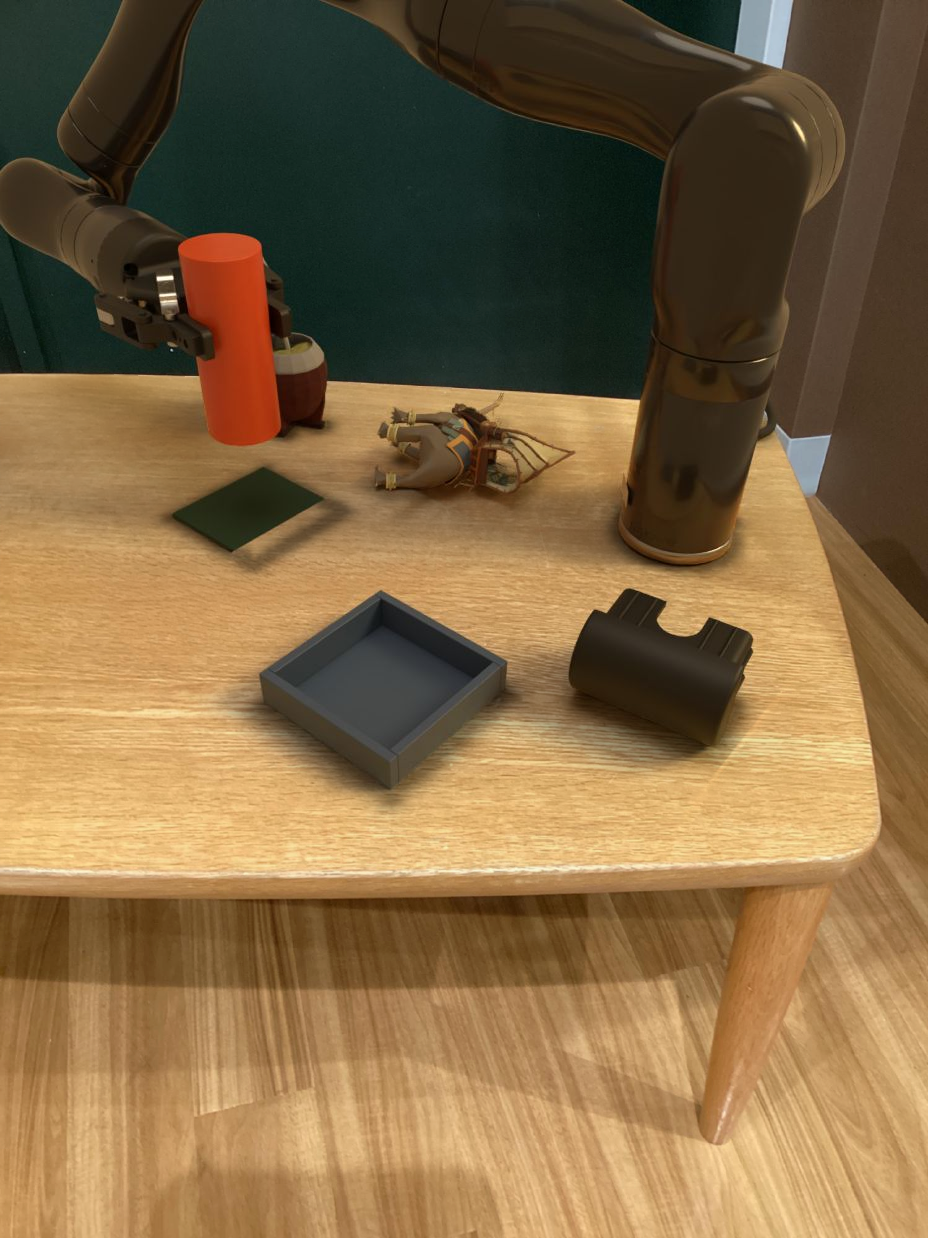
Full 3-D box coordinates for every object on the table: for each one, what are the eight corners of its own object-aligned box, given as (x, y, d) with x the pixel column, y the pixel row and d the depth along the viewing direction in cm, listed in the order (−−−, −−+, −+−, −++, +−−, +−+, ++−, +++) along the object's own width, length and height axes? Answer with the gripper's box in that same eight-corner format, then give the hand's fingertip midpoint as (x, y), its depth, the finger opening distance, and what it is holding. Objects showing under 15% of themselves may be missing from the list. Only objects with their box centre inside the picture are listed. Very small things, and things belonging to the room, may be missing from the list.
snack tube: (248, 403, 75) (225, 226, 66) (296, 426, 73) (278, 246, 64) (193, 429, 72) (160, 246, 63) (240, 454, 69) (213, 267, 60)
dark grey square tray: (382, 621, 68) (380, 589, 66) (505, 693, 62) (507, 660, 60) (263, 706, 61) (258, 673, 59) (390, 795, 56) (389, 762, 54)
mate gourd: (312, 445, 87) (297, 286, 77) (237, 430, 88) (213, 273, 79) (344, 409, 92) (334, 257, 82) (272, 396, 94) (254, 245, 84)
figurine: (412, 362, 89) (587, 384, 86) (411, 421, 92) (579, 443, 90) (351, 455, 73) (563, 485, 71) (353, 521, 76) (555, 551, 74)
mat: (263, 470, 83) (263, 466, 83) (342, 511, 78) (342, 507, 78) (172, 517, 77) (171, 513, 77) (252, 565, 72) (251, 560, 72)
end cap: (561, 711, 61) (571, 634, 57) (605, 650, 66) (618, 575, 61) (705, 773, 57) (728, 697, 53) (741, 704, 62) (765, 628, 58)
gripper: (40, 234, 69) (144, 308, 59) (213, 200, 76) (330, 260, 67) (65, 331, 74) (165, 413, 64) (225, 290, 81) (336, 358, 72)
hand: (248, 335), depth 65 cm, fingers closed on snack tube, 5 cm apart
